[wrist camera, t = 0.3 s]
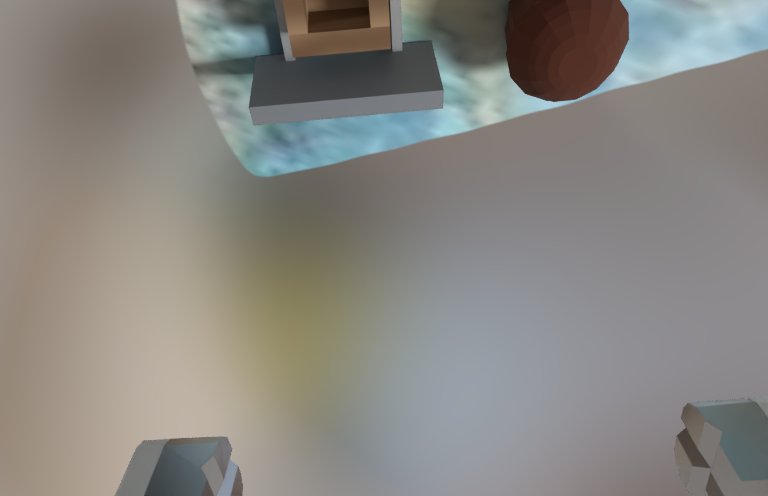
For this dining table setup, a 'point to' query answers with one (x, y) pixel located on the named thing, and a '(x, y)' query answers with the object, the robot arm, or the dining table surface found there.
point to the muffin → (564, 45)
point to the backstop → (345, 80)
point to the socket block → (337, 26)
